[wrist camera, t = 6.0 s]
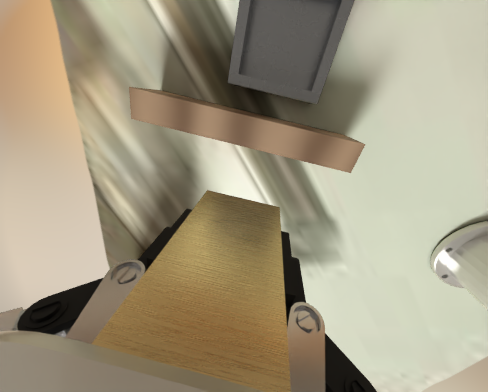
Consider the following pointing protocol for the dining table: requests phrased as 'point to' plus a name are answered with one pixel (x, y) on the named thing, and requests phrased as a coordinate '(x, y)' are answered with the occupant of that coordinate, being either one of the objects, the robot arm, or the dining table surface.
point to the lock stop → (213, 298)
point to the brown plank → (245, 128)
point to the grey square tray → (287, 45)
